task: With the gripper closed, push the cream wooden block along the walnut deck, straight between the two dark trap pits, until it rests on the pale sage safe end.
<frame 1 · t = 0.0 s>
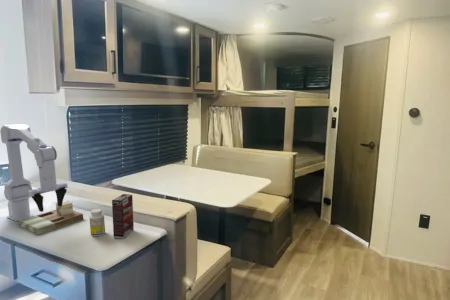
hand: (50, 208, 130), 10 cm above the table, tool pointing down, fingers open, 7 cm apart
supplement box: (124, 234, 129), on the table
supplement bottle: (98, 234, 129), on the table
cream block: (64, 213, 146), point 2 cm above the table, touching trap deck
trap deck: (52, 222, 141), on the table
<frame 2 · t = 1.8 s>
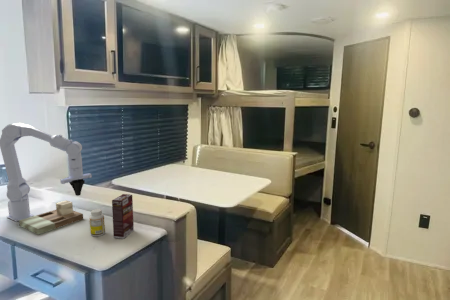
hand: (78, 195, 150), 9 cm above the table, tool pointing down, fingers closed
nothing on the table moved.
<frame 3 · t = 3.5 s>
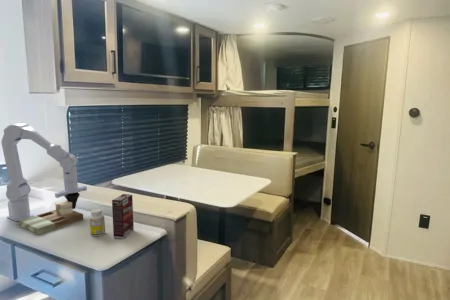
hand: (73, 208, 149), 4 cm above the table, tool pointing down, fingers closed
cream block: (64, 213, 145), point 3 cm above the table, touching gripper, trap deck
everything else where it was.
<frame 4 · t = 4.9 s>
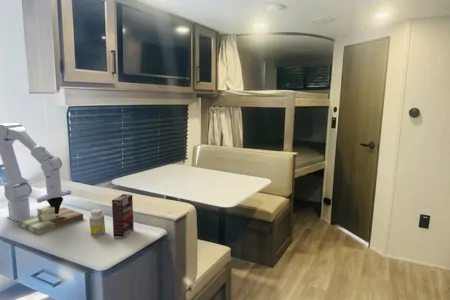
hand: (56, 213, 142), 4 cm above the table, tool pointing down, fingers closed
cream block: (46, 218, 139), point 3 cm above the table, touching gripper
everything else where it was.
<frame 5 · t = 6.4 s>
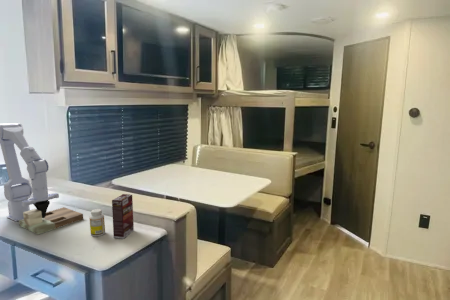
hand: (42, 217, 137), 4 cm above the table, tool pointing down, fingers closed
cream block: (33, 222, 134), point 3 cm above the table, touching gripper, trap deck
everything else where it was.
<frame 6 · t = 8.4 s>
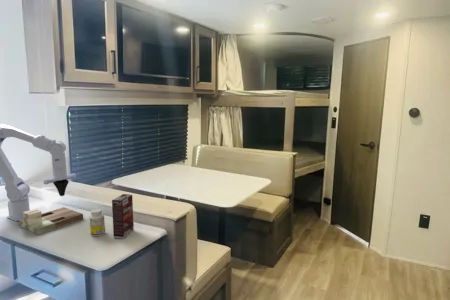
hand: (62, 195, 149), 9 cm above the table, tool pointing down, fingers closed
cream block: (33, 222, 134), point 2 cm above the table, touching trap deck
everything else where it was.
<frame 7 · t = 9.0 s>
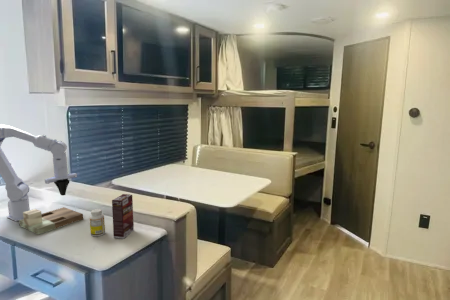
hand: (62, 194, 150), 9 cm above the table, tool pointing down, fingers closed
nothing on the table moved.
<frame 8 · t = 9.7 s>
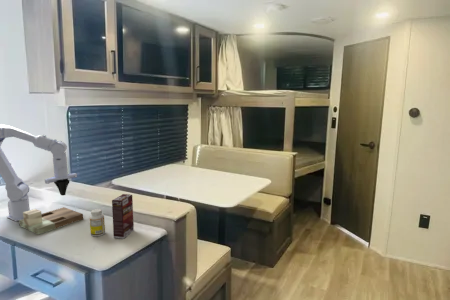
hand: (62, 194, 150), 9 cm above the table, tool pointing down, fingers closed
nothing on the table moved.
at the end: cream block inside the target area on the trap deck (1.8 cm from its centre), point 2.5 cm above the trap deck's base; cream block tilted 0° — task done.
